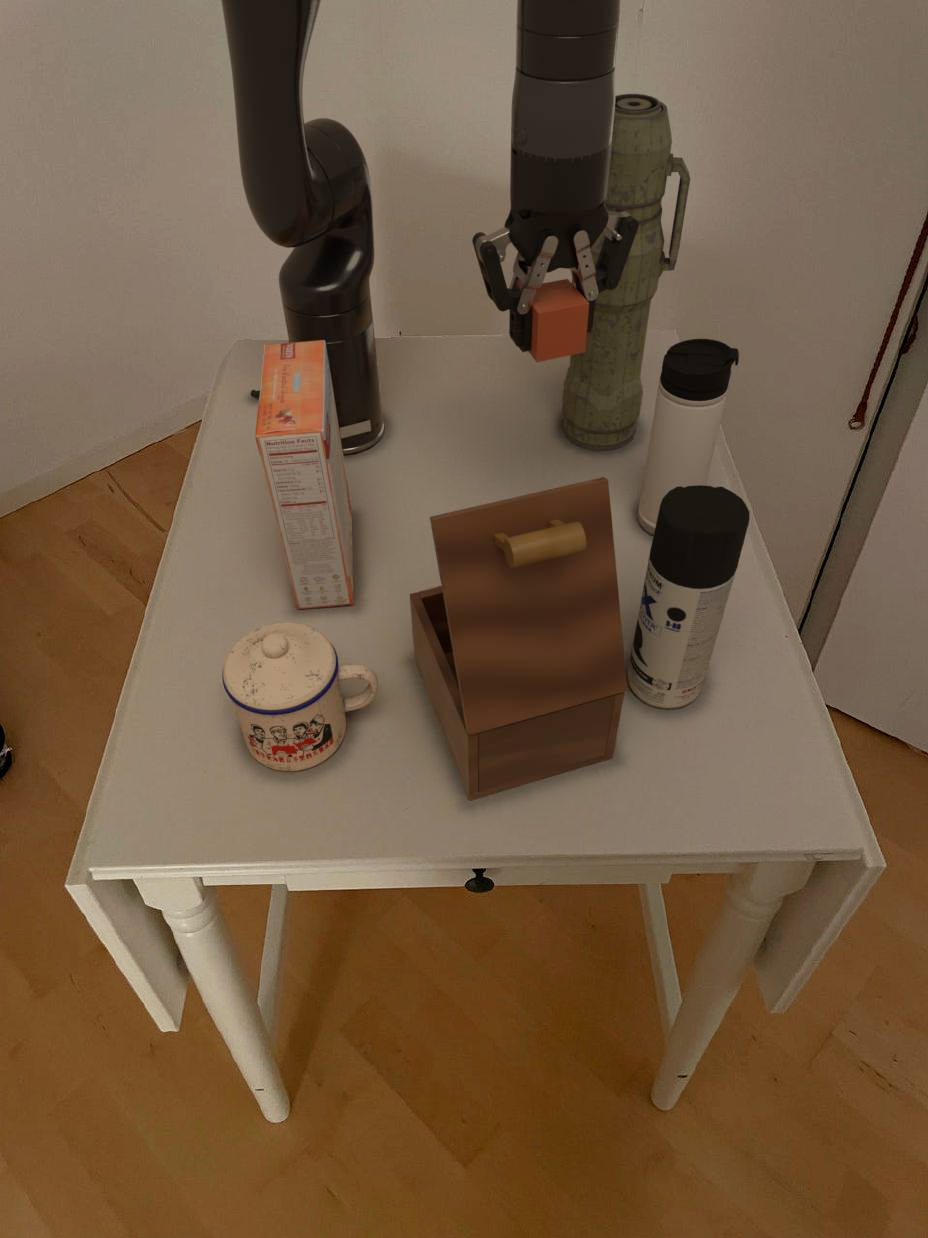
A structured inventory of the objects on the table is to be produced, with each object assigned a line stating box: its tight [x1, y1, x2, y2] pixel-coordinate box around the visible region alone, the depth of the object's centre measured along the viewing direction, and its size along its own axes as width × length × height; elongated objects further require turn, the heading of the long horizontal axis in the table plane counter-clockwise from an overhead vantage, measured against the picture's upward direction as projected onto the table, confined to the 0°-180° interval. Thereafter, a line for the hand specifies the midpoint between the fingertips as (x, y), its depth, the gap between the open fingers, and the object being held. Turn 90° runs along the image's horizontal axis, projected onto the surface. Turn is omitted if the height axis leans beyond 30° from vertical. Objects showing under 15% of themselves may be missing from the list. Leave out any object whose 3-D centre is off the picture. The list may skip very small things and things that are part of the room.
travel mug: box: [637, 338, 740, 536], centre depth 89 cm, size 6×7×20 cm
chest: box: [409, 585, 625, 801], centre depth 77 cm, size 16×13×9 cm
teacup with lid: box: [221, 622, 379, 772], centre depth 74 cm, size 12×9×12 cm
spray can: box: [627, 485, 751, 710], centre depth 74 cm, size 7×7×20 cm
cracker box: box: [254, 340, 355, 610], centre depth 85 cm, size 14×6×21 cm, turn 5°
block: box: [527, 278, 589, 363], centre depth 79 cm, size 5×5×5 cm
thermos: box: [561, 93, 691, 452], centre depth 95 cm, size 9×12×35 cm
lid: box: [429, 476, 628, 735], centre depth 63 cm, size 16×13×5 cm
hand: (550, 340), depth 80 cm, fingers closed on block, 4 cm apart
